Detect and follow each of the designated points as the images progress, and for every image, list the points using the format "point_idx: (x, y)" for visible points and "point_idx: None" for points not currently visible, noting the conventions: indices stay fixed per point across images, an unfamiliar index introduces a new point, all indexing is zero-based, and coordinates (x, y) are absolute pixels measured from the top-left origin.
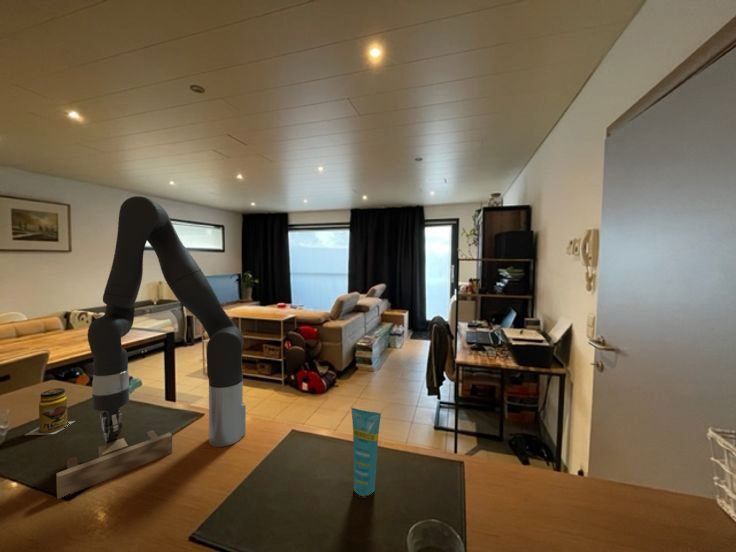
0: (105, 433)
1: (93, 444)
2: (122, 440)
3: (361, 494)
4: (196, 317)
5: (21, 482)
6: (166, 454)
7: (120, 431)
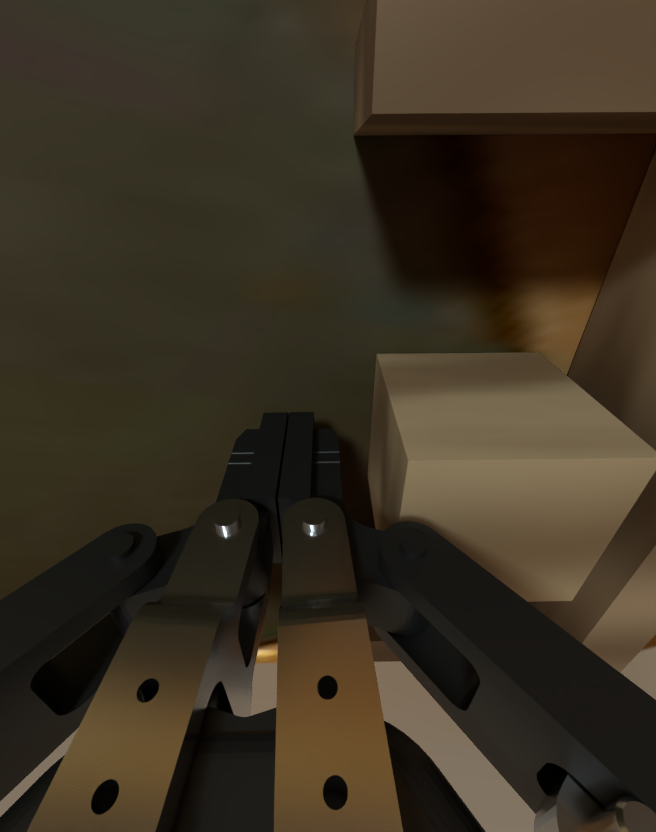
0: (261, 628)
1: (21, 468)
2: (465, 476)
3: None
4: None
5: (259, 644)
6: None
7: (588, 651)
